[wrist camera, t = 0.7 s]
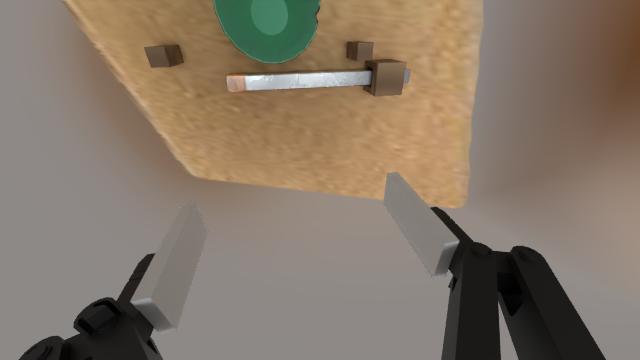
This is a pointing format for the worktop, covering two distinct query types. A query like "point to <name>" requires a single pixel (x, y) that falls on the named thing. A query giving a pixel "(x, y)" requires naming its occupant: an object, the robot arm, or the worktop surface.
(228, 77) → the tie bar
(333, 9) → the worktop surface
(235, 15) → the mug
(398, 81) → the brown blocks
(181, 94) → the worktop surface
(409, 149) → the worktop surface
